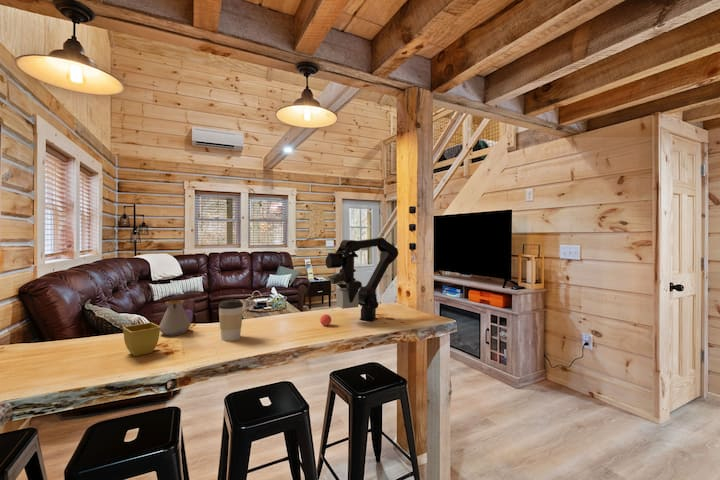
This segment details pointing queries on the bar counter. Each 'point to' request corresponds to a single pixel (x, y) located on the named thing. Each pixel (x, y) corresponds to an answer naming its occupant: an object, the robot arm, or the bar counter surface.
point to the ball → (325, 320)
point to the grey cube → (345, 299)
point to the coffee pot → (174, 319)
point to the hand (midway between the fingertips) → (347, 300)
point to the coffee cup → (230, 319)
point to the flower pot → (141, 338)
